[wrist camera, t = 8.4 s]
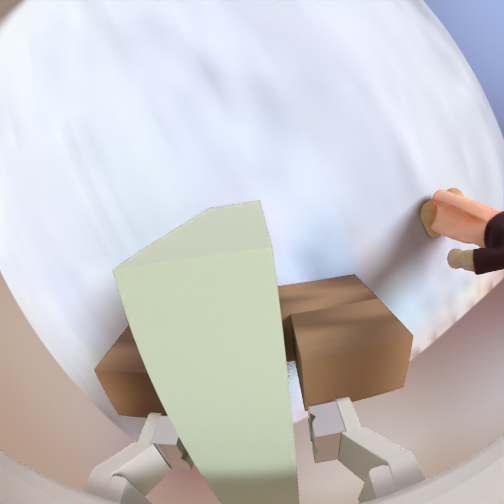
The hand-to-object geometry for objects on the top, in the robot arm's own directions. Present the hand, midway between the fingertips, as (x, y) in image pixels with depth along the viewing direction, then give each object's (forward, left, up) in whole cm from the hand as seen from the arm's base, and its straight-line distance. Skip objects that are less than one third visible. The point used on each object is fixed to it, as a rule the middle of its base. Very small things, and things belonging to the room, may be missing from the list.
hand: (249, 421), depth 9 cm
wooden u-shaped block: (0, 0, -10) cm, 10 cm away
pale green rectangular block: (0, 0, -10) cm, 10 cm away
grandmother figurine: (-5, +14, -10) cm, 18 cm away
